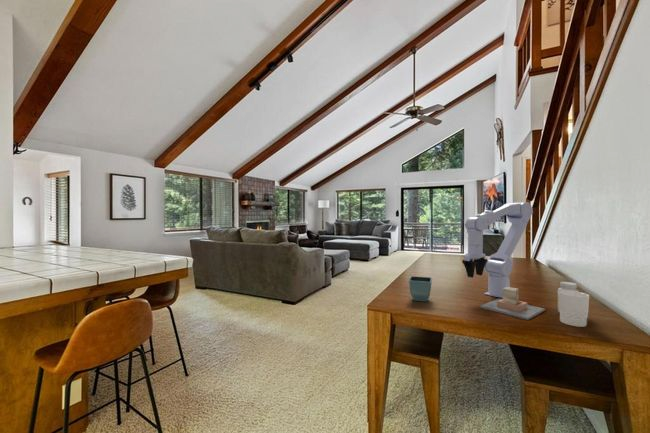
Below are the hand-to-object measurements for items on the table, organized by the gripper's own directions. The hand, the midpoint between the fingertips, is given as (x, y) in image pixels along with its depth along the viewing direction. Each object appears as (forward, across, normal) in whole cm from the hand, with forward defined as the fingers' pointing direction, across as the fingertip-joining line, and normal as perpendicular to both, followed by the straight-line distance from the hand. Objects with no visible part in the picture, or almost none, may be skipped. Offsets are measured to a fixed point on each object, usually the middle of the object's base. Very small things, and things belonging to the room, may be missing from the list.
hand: (474, 276), depth 126 cm
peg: (+9, +4, +16) cm, 18 cm away
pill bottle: (+10, -8, +30) cm, 33 cm away
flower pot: (+10, +22, -12) cm, 27 cm away
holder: (+9, +4, +16) cm, 19 cm away
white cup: (+10, +3, +34) cm, 36 cm away
